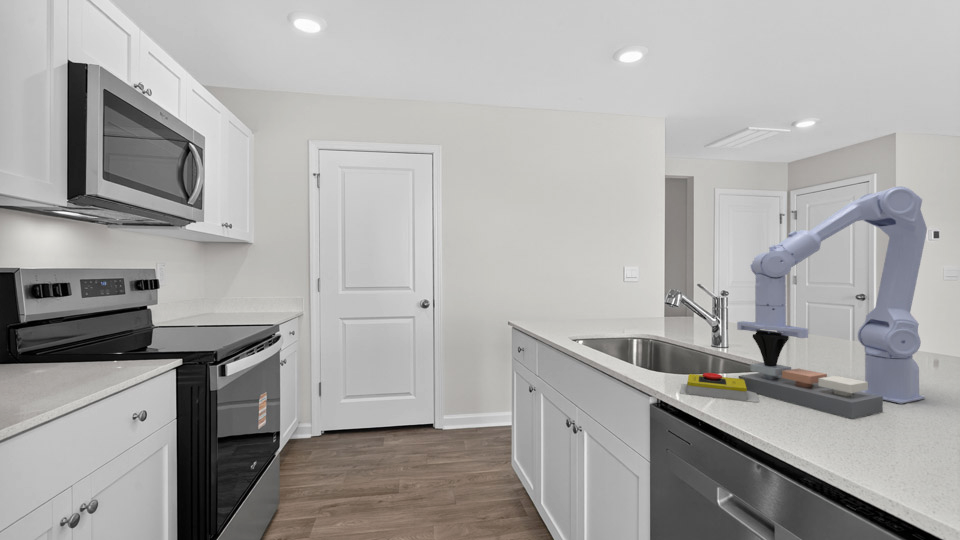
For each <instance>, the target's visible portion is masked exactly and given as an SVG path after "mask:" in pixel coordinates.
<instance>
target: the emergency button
mask: <svg viewBox="0 0 960 540" xmlns="http://www.w3.org/2000/svg"><path fill="white" fill-rule="evenodd" d="M686 381H687V382H686V383H682V384H680V389H679V393H680V394H681V395H686V396H687V395H688V396H695V397H704V398H713V399H719V400H720V399H721V400H729V401H739V402H746V403H755V404H756V403H760V400H759V397H758V394H756V393H754V392H750V391H747V387H746V384H745V381H744V380H743V379H739V377H738V378H737V377H726V376H723V375H721V374H720V373H714V372H713V373H712V372H704V373H703V374H697V373H696V374H695V373H694V374H693V373H690V374H689V373H688V377H687V380H686Z"/></svg>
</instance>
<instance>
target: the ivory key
mask: <svg viewBox="0 0 960 540" xmlns="http://www.w3.org/2000/svg"><path fill="white" fill-rule="evenodd" d="M818 386H821V387H826V388H830V389H834V394H838V395H842V396H852V393H854V392H860V391H865V390H868V382H865V380H864V381H863V380H859V379H854V378H849V377H844V376H838V375H831V376H827V377H824V378H818Z"/></svg>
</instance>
